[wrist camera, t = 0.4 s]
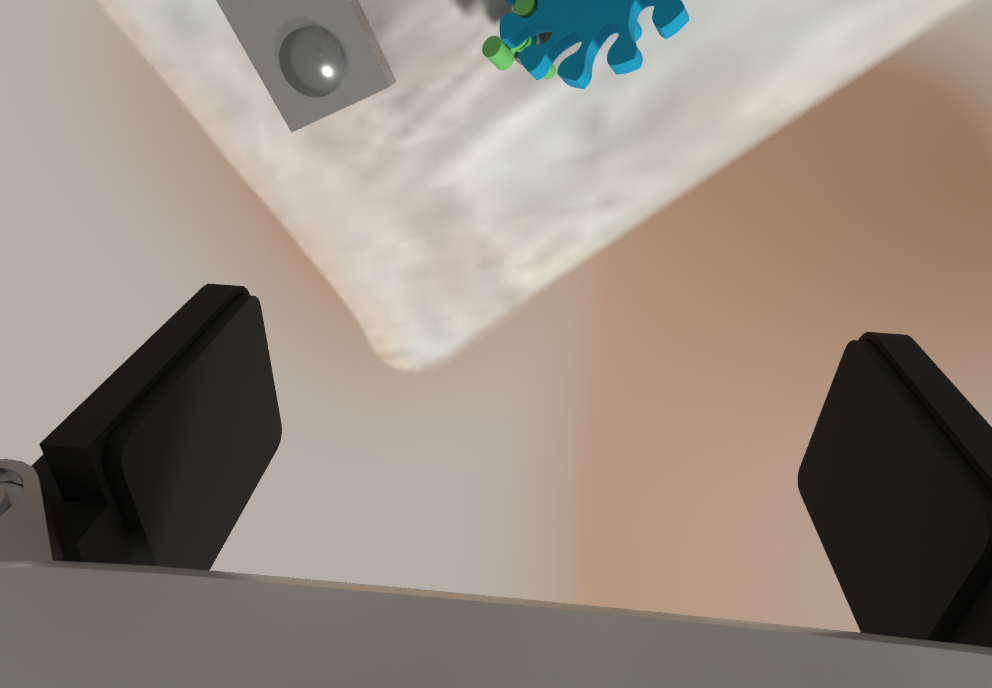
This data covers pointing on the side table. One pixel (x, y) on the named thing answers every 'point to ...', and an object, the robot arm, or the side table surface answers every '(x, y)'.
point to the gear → (577, 35)
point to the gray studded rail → (310, 54)
